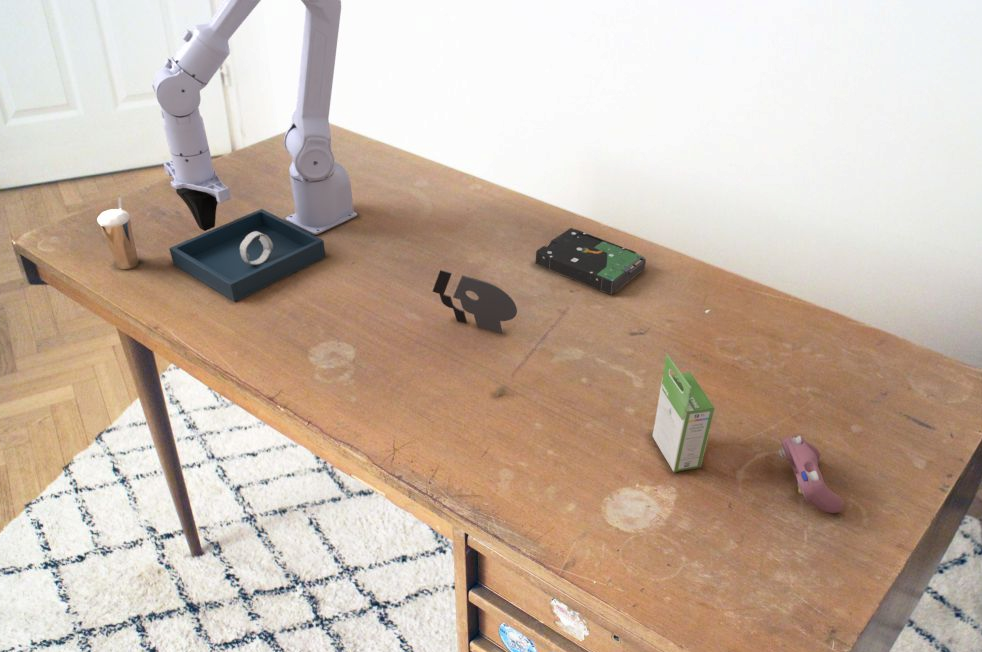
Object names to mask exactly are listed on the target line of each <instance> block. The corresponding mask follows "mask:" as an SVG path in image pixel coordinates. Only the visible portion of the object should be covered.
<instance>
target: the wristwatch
mask: <svg viewBox="0 0 982 652" xmlns="http://www.w3.org/2000/svg"><path fill="white" fill-rule="evenodd" d="M259 235H260V239H259V241H261V243H262V245H263V250H264V251H263V253H262V255H261V256H260V258H258V259H257V260H255V261H249V260H248V259H249V255H248V254H247V247H248V245H249V244H250V243H251V241H252V240H253V239H254V238H255V237H257V236H259ZM265 248H266V249H265ZM272 249H273V243H272V241H271V239H270V238H269V237H268V236H267V235H264V234H262V233H260V232H258V231H255V232H252V233H250V234H248V235H247V236H246V237H245V239H244V240H243V241H242V243H241V245H240V254H241V257H242V259H243V261H244V262H246V263H249V264H251V265H260V264H262V263H264V262H265V261H266V260H267V259H268V257H269V255H270V254H269V253H270V252H272Z"/></svg>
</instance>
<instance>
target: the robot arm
mask: <svg viewBox="0 0 982 652" xmlns="http://www.w3.org/2000/svg"><path fill="white" fill-rule="evenodd" d="M261 1H262V0H222V2H221V4H220V5H219V7H218V8H217V10H216V11H215V12H214V14H213V16H212V18H211V19H210V20H209V22H207V23H200V24H196V25H194V26H193V28H192V29H191V30H190V29H185V30H184V32H183V33H182V34H181V37H182V40H183V41H182V42H181V44H180V45H179V47H178V48H177V49H176V51H175V53H173V55H172V57H171V58H168V57H167V58H166V59H165V60H164V62H163V65H164V66H163V67H161V68H160V69H158V70H157V71H156V72H155V74H154V76H153V83H152V89H153V92H154V93H155V97H156V99H157V102H158V104H159V105H160V113H161V117H162V125H163V128H164V134H165V137H166V142H167V145H168V149H169V150H168V151H169V152H170V158H171V160H170V161H167V162H164V163H163V168H164V172H165V175H166V176H168V177H172V179H173V180H171V181H170V186H171V187H172V188H175V193H176V194H177V195H178V197H180V198H181V200H182V201H183V202H184V203H185V204H186V207H187V208H188V210H189V211H190V213H191V214H192V217H193V219H194V220H195V222H196V224H197V226H198V228H199V229H200V230H202V231H204V232H207V231H210V230H212V229H215V227H216V220H217V219H216V217H217V207H218V203H219V204H222V203H224V202H227V201H229V200H231V199H232V196H231V192H230V187H228V186H227V185H226V184H224V182H223V181H222V179H221V178H220V176H219V175H218V174H217V173H216V171H215V170H214V169H215V168H214V164H213V161H212V154H211V150H210V146H209V141H208V138H207V137H208V136H207V133H206V128H205V123H204V119H203V117H202V115H201V113H200V108H199V107H200V105H201V91H202V90H204V89H205V88H206V87H207V86H208V84H209V82H210V81H211V80H212V78H213V77H214V76H215V74H216V73H217V72H218V70H219V69H220V68H221V66H222V65H223V63H224V62H225V61H226V59H228V57H229V56H230V54H231V49H230V43H229V40H230V39H231V37H232V36H233V35H234V34H235V32H237V30H238V28H239V27H241V25H242V24H243V22H245V20H246V19H247V18H248V16H249V15H250V14H251V13H252V12H253V11H254V10H255V8H256V7H257V6H258V5H259V3H261ZM300 1H301V2H302V3H303V5H304V6H305V12H304V14H305V15H304V26H303V33H302V35H303V36H302V46H301V55H300V56H301V57H300V67H299V78H298V89H297V98H296V109H295V110H294V112H293V113H292V115H291V122H290V125H289V127H288V129H287V130H286V132H285V134H284V138H283V145H284V148H285V150H286V152H287V154H289V156H290V158H291V164H290V166H289V169H288V172H289V180H290V186H291V192H292V198H293V205H294V211H295V212H294V213H292V214H290V215H288V216H286V217H285V221H287V222H289V223H291V224H293V225H294V226H296V227H298V228H300V229H302V230H304V231H306V232H308V233H310V234H312V235H314V236H318V235H320V234H321V233H324V232H325V231H328V230H330V229H332V228H335V227H337V226H339V225H341V224H343V223H345V222H347V221H349V220H352V219H354V218H356V217H357V216H358V213H357V212H356V211H355V210H354V201H353V192H352V182H351V178H350V175H349V173H348V171H347V170H346V168H345V167H344V166H343V165H342V164H340V163H339V162H337V161H335V156H334V154H333V150H332V133H331V127H330V121H329V117H330V110H331V109H330V108H331V100H332V93H333V92H332V91H333V83H334V82H333V81H334V74H335V66H336V65H335V64H336V57H337V56H336V55H337V48H338V39H339V31H340V22H341V13H342V0H300Z"/></svg>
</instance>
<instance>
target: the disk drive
mask: <svg viewBox="0 0 982 652" xmlns="http://www.w3.org/2000/svg"><path fill="white" fill-rule="evenodd" d="M646 260H647V259H646V258H645V256H643V254H641V253H638V252H636V251H635V250H631V249H630V248H626V247H623V246H621V245H618V244H615V243H613V242H610V241H608V240H606V239H603V238H600V237H597V236H594V235H592V234H590V233H587V232H584V231H582V230H579V229H576V228H573V227H570V228H568V229H567V230H565V231H564V232H562V233H561V234H559V235H558V236H556V237H555V238H554V239H552V240H551V241H550V242H549V243H548V245H543V246H542V247H540V248H538V249H537V250H536V251H535V264H536V265H538V266H539V267H542V268H544V269H546V270H549V271H551V272H554V273H555V274H559V275H561V276H563V277H567V278H569V279H571V280H575V282H576V281H577V282H579V283H581V284H583V285H586V286H588V287H591V288H593V289H595V290H598V291H600V292H603V293H606V294H610V295H613V294H615V293H616V292H618V291H619V290H620V289H622V288H623V287H624V286H625V285H626V284H628V283H629V282H630V281H632V280H633V279H634V278H635V277H636V276H639V274H640V273H642V272H643V270H644V269H645V267H646Z"/></svg>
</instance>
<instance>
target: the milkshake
mask: <svg viewBox="0 0 982 652" xmlns="http://www.w3.org/2000/svg"><path fill="white" fill-rule="evenodd" d="M117 203H118V204H117V205H118V208H110V209H107V210H105V211H102V212H101V213H100V214H99V215H98V217H97V218H96V221H97V223H98V225H99V228H100V230H101V232H102V234H103V236H104V239H105V241H106V243H107V245H108V247H109V250H110V253H111V255H112V258H113V260H114V262H115V264H116V267H117V268H118V269H120V270H130V269H134V268H136V267H137V266H138V265H139V258H138V253H137V247H136V243H135V238H134V232H133V227H132V226H133V225H132V220H131V216H130V213H129V212H128V211H126V210H124V209H123V207H122V197H121V196H118V197H117Z"/></svg>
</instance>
